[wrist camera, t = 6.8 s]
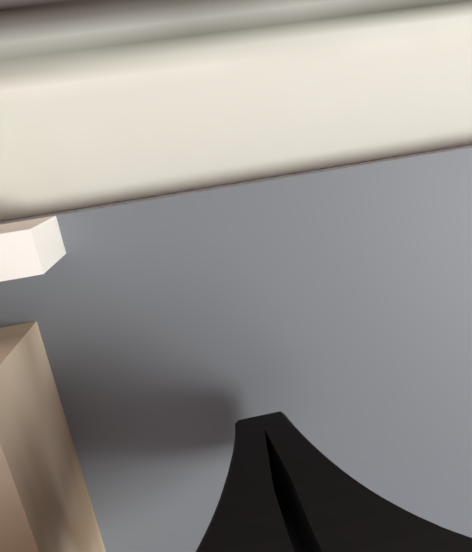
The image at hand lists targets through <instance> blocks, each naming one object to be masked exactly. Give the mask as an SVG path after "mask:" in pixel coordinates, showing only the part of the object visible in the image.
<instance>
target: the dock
mask: <svg viewBox="0 0 472 552" xmlns="http://www.w3.org/2000/svg"><path fill="white" fill-rule="evenodd" d="M65 254H66V251H65V248H64V244H63V240H62V236H61V233H60V229H59V225H58V221H57V218H56V216H50V217H44V218H38V219H31V220H25V221H19V222H13V223H7V224H1V225H0V282H1V281H7V280H13V279H19V278H24V277H30V276H36V275H42V274H44V273H45V272H46V271H48V270H49V269H50V268H51V267H52V266H53V265H54V264H55V263H56V262H57V261H59V260H60V259H61V258H62V257H63V256H64V255H65Z"/></svg>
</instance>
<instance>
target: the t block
mask: <svg viewBox="0 0 472 552" xmlns="http://www.w3.org/2000/svg"><path fill="white" fill-rule="evenodd" d="M0 552H106V551H105V547H104V544H103V541H102V537H101V534H100V531H99V527H98V524H97V521H96V517H95V514H94V511H93V507H92V504H91V501H90V497H89V494H88V491H87V487H86V484H85V481H84V477H83V474H82V471H81V467H80V464H79V461H78V457H77V454H76V451H75V447H74V444H73V441H72V437H71V434H70V431H69V427H68V424H67V421H66V417H65V414H64V411H63V407H62V404H61V401H60V397H59V394H58V391H57V387H56V384H55V381H54V377H53V374H52V371H51V367H50V364H49V361H48V357H47V354H46V351H45V347H44V344H43V341H42V337H41V334H40V331H39V327H38V324H37V321H35V322H29V323H24V324H18V325H13V326H7V327H2V328H0Z"/></svg>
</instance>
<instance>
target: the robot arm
mask: <svg viewBox="0 0 472 552" xmlns="http://www.w3.org/2000/svg"><path fill="white" fill-rule="evenodd" d="M196 552H472V538H470V537H468V536H465V535H462V534H459V533H457V532H454V531H451V530H448V529H446V528H443V527H441V526H439V525H436V524H434V523H432V522H430V521H427V520H425V519H423V518H421V517H418V516H416V515H414V514H412V513H410V512H408V511H406V510H404V509H403V508H401V507H399V506H397V505H395V504H393V503H391V502H390V501H388V500H386V499H384V498H382V497H381V496H379V495H377V494H376V493H374V492H373V491H371V490H369V489H368V488H366V487H365V486H364V485H362V484H361V483H359V482H358V481H356V480H355V479H353V478H352V477H351V476H349V475H348V474H347V473H345V472H344V471H343V470H342V469H340V468H339V467H338V466H337V465H335V464H334V463H333V462H332V461H331V460H329V459H328V458H327V457H326V456H325V455H324V454H323V453H321V452H320V451H319V450H318V449H317V448H316V447H315V446H314V445H313V444H312V443H311V442H310V441H309V440H308V439H307V438H306V437H305V436H304V435H303V434H302V433H301V432H300V431H299V430H298V429H297V428H296V427H295V426H294V425H293V424H292V422H291V421H290V420H289V419H288V418H287V416H286V415H285V414H284V413H282V412H281V411H279V412H275V413H270V414H265V415H260V416H256V417H251V418H246V419H241V420H238V421H237V422H236V424H235V441H234V448H233V454H232V458H231V462H230V467H229V471H228V474H227V478H226V481H225V484H224V487H223V490H222V494H221V497H220V499H219V502H218V505H217V507H216V510H215V512H214V515H213V517H212V519H211V522H210V524H209V526H208V528H207V530H206V532H205V534H204V536H203V538H202V540H201V542H200V544H199V546H198V548H197V550H196Z"/></svg>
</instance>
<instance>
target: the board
mask: <svg viewBox="0 0 472 552" xmlns="http://www.w3.org/2000/svg"><path fill="white" fill-rule="evenodd" d="M50 216H56V218H57V221H58V225H59V229H60V233H61V236H62V240H63V244H64V248H65V251H66V254H65V255H64V256H63V257H62V258H61V259H60V260H59V261H57V262H56V263H55V264H54V265H53V266H52V267H51V268H50V269H49V270H48V271H46V272H45V273H44V274H42V275H36V276H30V277H24V278H19V279H13V280H7V281H1V282H0V328H2V327H7V326H13V325H18V324H24V323H29V322H35V321H37V324H38V327H39V331H40V334H41V337H42V341H43V344H44V347H45V351H46V354H47V357H48V361H49V364H50V367H51V371H52V374H53V377H54V381H55V384H56V387H57V391H58V394H59V397H60V401H61V404H62V407H63V411H64V414H65V417H66V421H67V424H68V427H69V431H70V434H71V437H72V441H73V444H74V447H75V451H76V454H77V457H78V461H79V464H80V467H81V471H82V474H83V477H84V481H85V484H86V487H87V491H88V494H89V497H90V501H91V504H92V507H93V511H94V514H95V517H96V521H97V524H98V527H99V531H100V534H101V537H102V541H103V544H104V547H105V551H106V552H196V550H197V548H198V546H199V544H200V542H201V540H202V538H203V536H204V534H205V532H206V530H207V528H208V526H209V524H210V522H211V519H212V517H213V515H214V512H215V510H216V507H217V505H218V502H219V499H220V497H221V494H222V490H223V487H224V484H225V481H226V478H227V474H228V471H229V467H230V462H231V458H232V454H233V448H234V441H235V424H236V422H237V421H238V420H241V419H246V418H251V417H256V416H260V415H265V414H270V413H275V412H279V411H281V412H282V413H284V414H285V415H286V416H287V418H288V419H289V420H290V421H291V422H292V424H293V425H294V426H295V427H296V428H297V429H298V430H299V431H300V432H301V433H302V434H303V435H304V436H305V437H306V438H307V439H308V440H309V441H310V442H311V443H312V444H313V445H314V446H315V447H316V448H317V449H318V450H319V451H320V452H321V453H323V454H324V455H325V456H326V457H327V458H328V459H329V460H331V461H332V462H333V463H334V464H335V465H337V466H338V467H339V468H340V469H342V470H343V471H344V472H345V473H347V474H348V475H349V476H351V477H352V478H353V479H355V480H356V481H358V482H359V483H361V484H362V485H364V486H365V487H366V488H368V489H369V490H371V491H373V492H374V493H376V494H377V495H379V496H381V497H382V498H384V499H386V500H388V501H390V502H391V503H393V504H395V505H397V506H399V507H401V508H403V509H404V510H406V511H408V512H410V513H412V514H414V515H416V516H418V517H421V518H423V519H425V520H427V521H430V522H432V523H434V524H436V525H439V526H441V527H443V528H446V529H448V530H451V531H454V532H457V533H459V534H462V535H465V536H468V537H470V538H472V145H466V146H460V147H454V148H448V149H442V150H435V151H429V152H423V153H417V154H411V155H405V156H399V157H393V158H387V159H380V160H374V161H368V162H362V163H356V164H350V165H344V166H338V167H332V168H325V169H319V170H313V171H307V172H301V173H295V174H289V175H283V176H277V177H270V178H264V179H258V180H252V181H246V182H240V183H234V184H228V185H222V186H215V187H209V188H203V189H197V190H191V191H185V192H179V193H173V194H167V195H160V196H154V197H148V198H142V199H136V200H130V201H124V202H118V203H112V204H105V205H99V206H93V207H87V208H81V209H75V210H69V211H63V212H57V213H50V214H44V215H38V216H32V217H26V218H20V219H14V220H8V221H2V222H0V225H1V224H7V223H13V222H19V221H25V220H31V219H38V218H44V217H50Z"/></svg>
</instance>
